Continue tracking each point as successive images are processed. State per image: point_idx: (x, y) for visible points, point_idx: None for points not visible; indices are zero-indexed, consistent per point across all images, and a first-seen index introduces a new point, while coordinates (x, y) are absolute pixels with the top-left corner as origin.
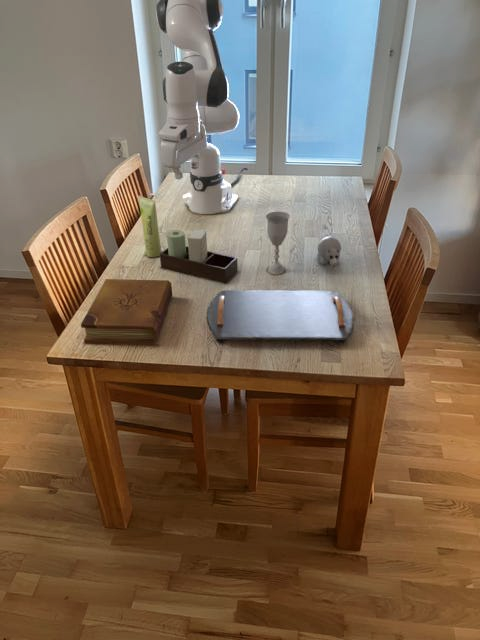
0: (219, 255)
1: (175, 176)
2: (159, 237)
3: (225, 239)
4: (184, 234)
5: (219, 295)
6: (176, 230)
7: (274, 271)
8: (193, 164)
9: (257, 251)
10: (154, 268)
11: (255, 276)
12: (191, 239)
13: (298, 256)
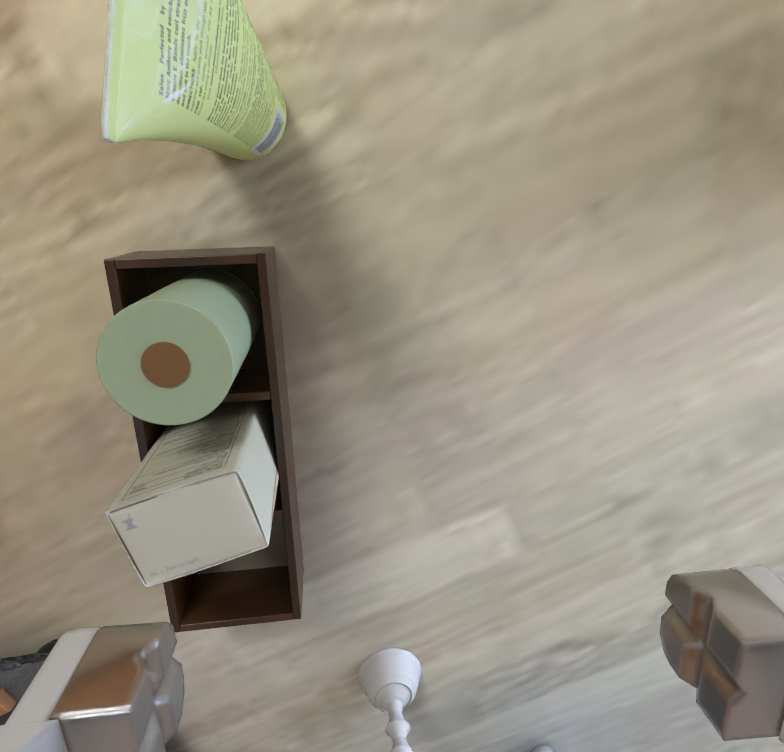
0: (285, 536)
1: (52, 662)
2: (250, 144)
3: (565, 369)
4: (189, 422)
5: (18, 675)
6: (209, 340)
7: (364, 687)
8: (721, 663)
9: (507, 547)
10: (111, 221)
11: (308, 638)
12: (118, 531)
13: (530, 684)
